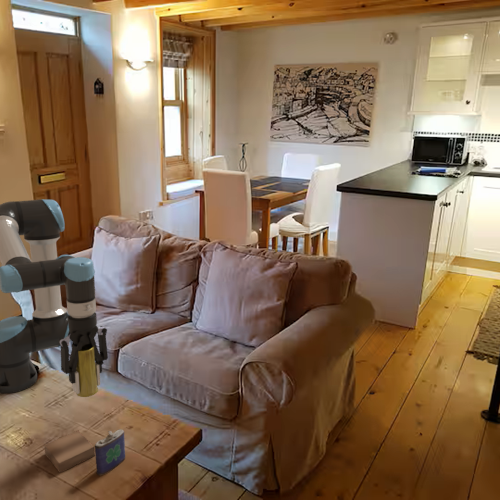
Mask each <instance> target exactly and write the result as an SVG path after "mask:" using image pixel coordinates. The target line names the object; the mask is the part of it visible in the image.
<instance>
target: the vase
mask: <svg viewBox="0 0 500 500" xmlns="http://www.w3.org/2000/svg"><path fill="white" fill-rule="evenodd" d="M78 356H79V358H78V363H77V367H76V371H77V372H78V374H79V390H80V393H79V394H76V396H77V397H80V398H89V397H92V396H94V395H96V394H97V393H98V392H99V389H98V386H97V377H96V368H95V356H94V346H93V347H92V348H90V347H89V345H88V344H85V345H84V346H82V349H81V350H80V351H78Z"/></svg>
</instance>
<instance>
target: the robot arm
mask: <svg viewBox="0 0 500 500" xmlns="http://www.w3.org/2000/svg"><path fill="white" fill-rule="evenodd" d="M65 225H66V224H65V219H64V215H63V212H62V209H61V206H60V205H59V203H58V202H57V201H56V200H55V199H30V200H19V201H15V200H13V201H11V200H10V201H5V202H2V203H1V204H0V264H1V265H0V291H1V292H2V293H4V294H9V293H10V294H11V293H21V292H25V291H31V290H33V291H34V299H35V300H34V301H35V310H34V311H33V312H32V313H31V315H32V318H31V319H27V318H26V317H25V316H22V315H21V316H16V315H15V316H9V317H6V318H3V319H1V320H0V394H13V393H16V392H17V393H18V392H20V391H24V390H26V389H28V388H30V387H31V386H33V385H35V383H36V382H37V380H38V373H37V370H36V368H35V365H34V364H33V361H32V360H31V355H30V354H32V353H36V352H41V351H45V350H50V349H55V348H60V370H61V372H63V373H64V375H65V374H66V375H68V381H69V383H70V384H71V385H72V391H73V392H74V393H75V394H76V395H77V394H79V393H80V390H79V374H78V372H77V371H76V367H77V363H78V358H79V356H78V351H80V350H81V349H82V346H84V345H85V344H88V345H89V347H90V348H92V347H93V346H94V356H95V368H96V377H97V387H99V386H101V375H100V374H102V373H103V365H104V364H105V362H104V361H105V360H106V361H107V360H108V358H109V356H108V345H107V344H108V343H107V337H106V336H107V333H108V329H107V328H106V327H104V326H103V325H100V326H99V327H98V326H97V324H98V322H97V320H98V319H97V311H96V310H97V306H96V305H97V304H96V303H97V302H96V287H95V286H96V283H95V275H96V274H95V272H96V271H95V267H94V262H93V260H92V259H91V258H88V257H82V256H79V257H76V256H73V255H70V254H61V255H60V256H58V251H57V250H58V249H57V241H58V240H59V239H60V238H61V233H62V232H64V231H65V229H66V228H65ZM21 236H23V240H24V241H25V242H26V243H28V244H29V249H30V250H29V251H30V254H29V253H28V251H27V248H26V247H25V245H24V242H23V240H22V238H21ZM63 285H64V286H65V294H66V307H67V308H66V307H64V306H63V304H62V296H61V286H63ZM96 335H97V341H98V347H97V343H96V340H95V337H96ZM70 343H71V350H70V348H69V346H70ZM70 351H71V352H70Z"/></svg>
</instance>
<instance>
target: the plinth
mask: <svg viewBox="0 0 500 500" xmlns="http://www.w3.org/2000/svg"><path fill="white" fill-rule="evenodd" d="M43 446H44V454H45V456H46V457H47V458H48V459H49V461H50V462H51V463H52V465H54V467H55V468H56V470H57V471H58V472H59V473H62V472H64V471H66V470H69V469H71V468H73V467H75V466H77V465H79V464H81V463H83V462H85V461H87V460H89V459H92V458H94V457H96V456H95V445H93V444H92V443H91V442H90V441H89V440H88V439H87V437H85V435H83V434H82V433H81V431H80V430H75V431H73V432H71V433H69V434H66V435H64V436H62V437H59V438H57V439H55V440H53V441H50V442H48V443H46V444H44V445H43ZM93 456H94V457H93ZM84 460H85V461H84ZM82 461H83V462H82ZM76 464H77V465H76Z"/></svg>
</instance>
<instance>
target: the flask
mask: <svg viewBox="0 0 500 500" xmlns="http://www.w3.org/2000/svg"><path fill="white" fill-rule="evenodd" d="M107 432H108V434H107V436H106V437H105V438H103V439H99V440H98V441H97V442H96V443H95V445H94V451H95V456H94V457H95V466H96V467H95V468H96V474H97V475H98V476H103V475H106V474H107V473H110V472H111V471H113V470H115V468H116V467H118V466H119V465H121V464H122V463H123V462H124V461H125V459H126V448H125V447H126V445H125V430H123V429H118V430H116V431H114V432H112V430H109V431H107Z"/></svg>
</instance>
